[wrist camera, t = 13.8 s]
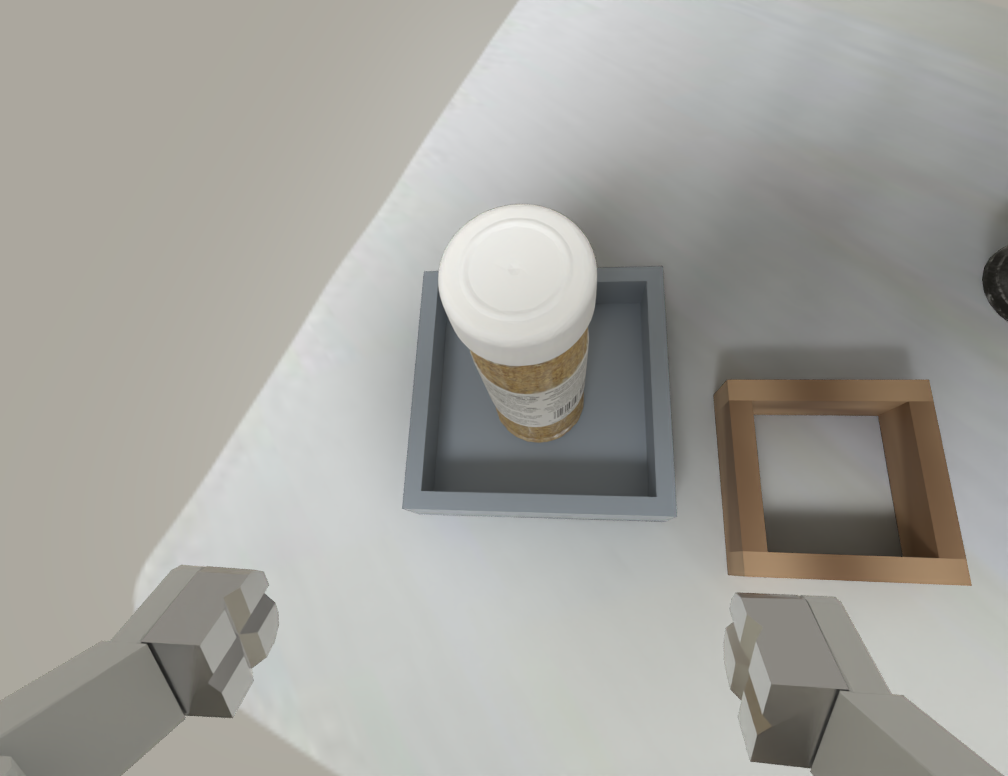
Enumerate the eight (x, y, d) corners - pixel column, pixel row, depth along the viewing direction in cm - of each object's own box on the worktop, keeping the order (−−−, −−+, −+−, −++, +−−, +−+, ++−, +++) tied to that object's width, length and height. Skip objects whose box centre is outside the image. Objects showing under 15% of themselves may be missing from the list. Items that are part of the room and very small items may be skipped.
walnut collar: (896, 395, 27) (928, 379, 24) (931, 583, 24) (971, 585, 22) (713, 395, 28) (727, 379, 25) (728, 575, 25) (745, 576, 23)
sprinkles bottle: (546, 343, 29) (530, 169, 16) (603, 408, 27) (634, 275, 15) (477, 395, 28) (403, 258, 16) (530, 464, 27) (498, 376, 14)
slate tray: (653, 294, 30) (662, 266, 27) (664, 521, 26) (677, 516, 23) (437, 298, 31) (423, 271, 28) (419, 514, 27) (402, 508, 24)
